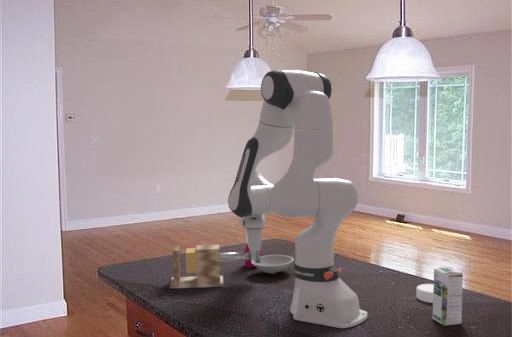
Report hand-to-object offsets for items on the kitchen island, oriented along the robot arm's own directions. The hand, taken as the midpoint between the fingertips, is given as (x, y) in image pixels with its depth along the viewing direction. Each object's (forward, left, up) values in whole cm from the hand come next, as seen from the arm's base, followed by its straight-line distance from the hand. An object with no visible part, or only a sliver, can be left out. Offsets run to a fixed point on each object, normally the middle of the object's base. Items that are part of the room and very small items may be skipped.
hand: (252, 258), depth 188 cm
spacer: (+15, +15, 0) cm, 21 cm away
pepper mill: (+14, -16, -8) cm, 23 cm away
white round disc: (-56, -21, -9) cm, 61 cm away
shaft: (+7, +7, -2) cm, 10 cm away
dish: (+1, -12, -8) cm, 15 cm away
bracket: (+14, +14, -8) cm, 21 cm away
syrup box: (-67, -4, -8) cm, 68 cm away
